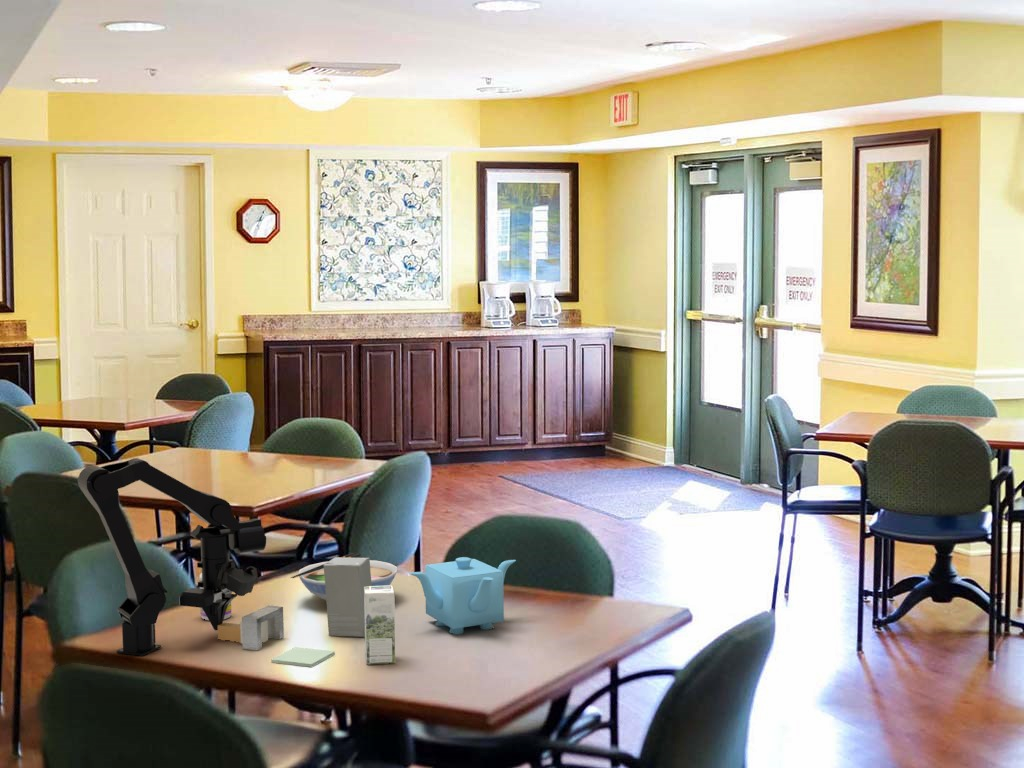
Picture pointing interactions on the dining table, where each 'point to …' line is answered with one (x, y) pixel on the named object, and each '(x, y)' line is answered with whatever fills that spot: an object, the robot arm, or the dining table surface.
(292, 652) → the pad
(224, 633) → the plug
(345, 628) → the skincare box
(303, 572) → the ramen bowl
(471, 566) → the teakettle
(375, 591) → the syrup box
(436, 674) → the dining table surface
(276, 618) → the grey bridge block
